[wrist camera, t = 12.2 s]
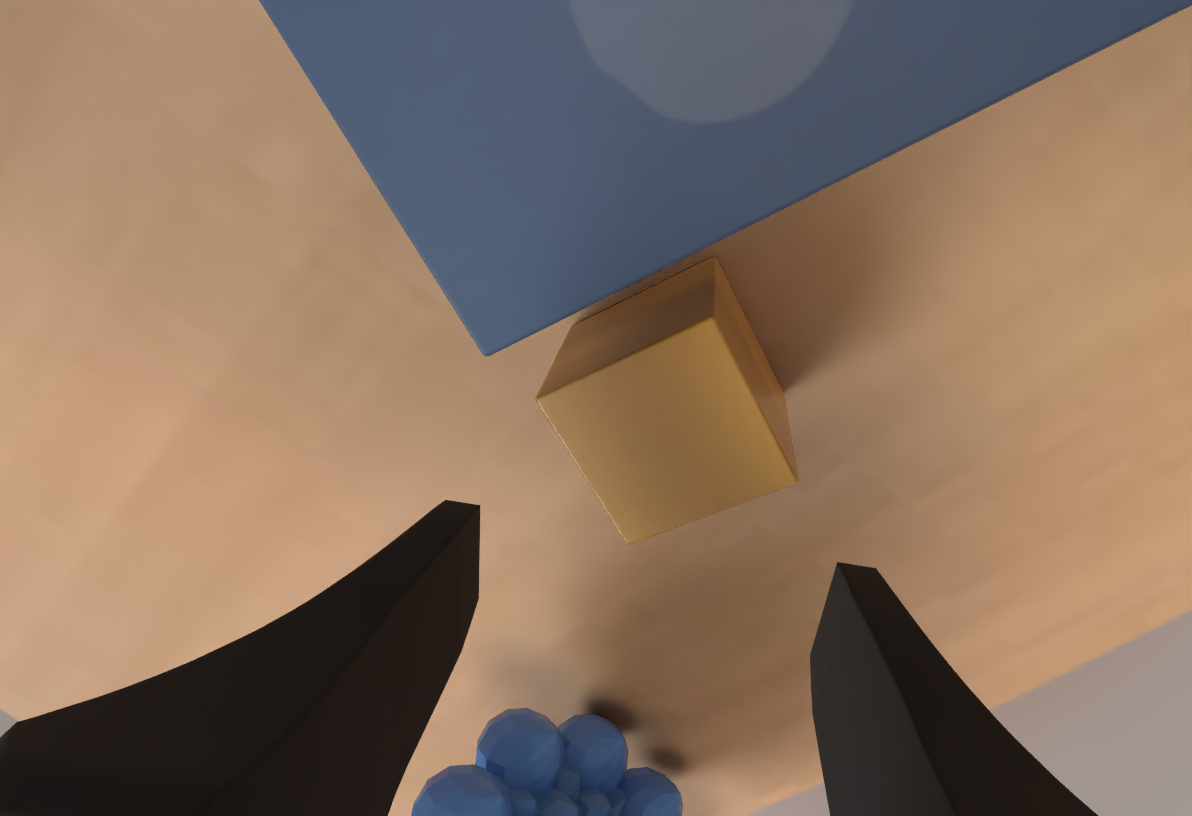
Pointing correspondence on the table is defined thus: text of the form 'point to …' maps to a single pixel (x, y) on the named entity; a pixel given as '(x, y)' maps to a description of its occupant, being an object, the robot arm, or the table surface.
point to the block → (670, 405)
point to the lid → (648, 119)
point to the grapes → (549, 773)
